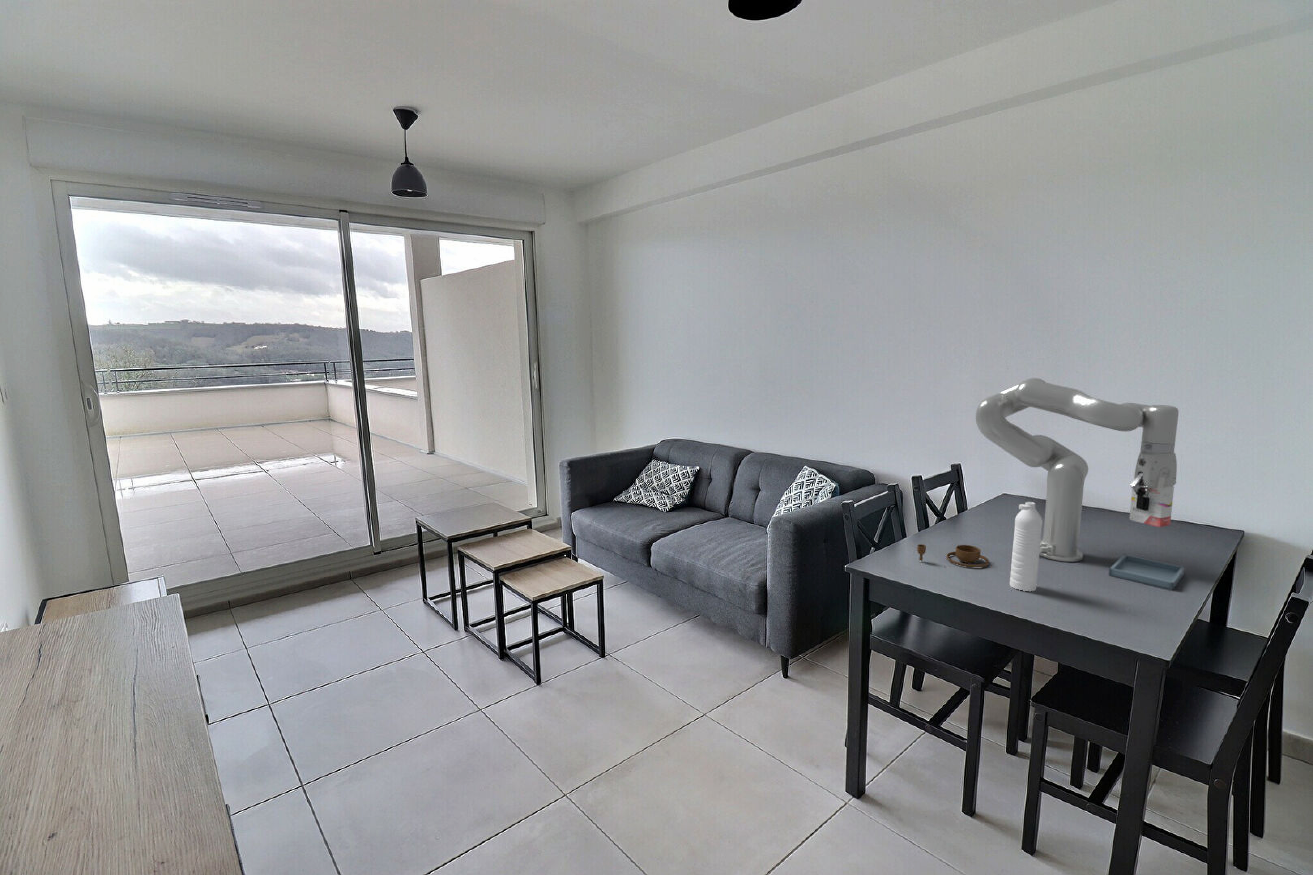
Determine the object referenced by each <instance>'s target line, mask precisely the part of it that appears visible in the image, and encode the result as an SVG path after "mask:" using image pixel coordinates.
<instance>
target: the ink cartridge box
mask: <svg viewBox="0 0 1313 875" xmlns="http://www.w3.org/2000/svg"><path fill="white" fill-rule="evenodd" d="M1164 481H1165V478H1163V477H1159V481H1158V487H1157V488H1151V489H1150V492H1149V495H1148V497H1149V508H1148V511H1145V510H1141V509H1137V508H1136V503H1137V495H1136V492H1135V491H1134V490H1133V488H1132V487H1131V500H1130V511H1129V517H1128V518H1129V520H1130V521H1132V522H1136V523H1141V524H1145V525H1147V526H1149V525H1150V526H1152V527H1156V528H1164V527H1169V526H1171V520H1172V510H1173V502H1174V500H1173V499H1174V491H1175V489H1174V488H1175V485H1174V486H1164ZM1143 486H1145V485H1144V484H1143ZM1145 489H1146V488H1143V491H1145Z"/></svg>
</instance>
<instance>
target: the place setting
mask: <svg viewBox="0 0 1313 875" xmlns="http://www.w3.org/2000/svg"><path fill="white" fill-rule="evenodd" d="M926 548H927V545H925V544H922V543H921V544H917V548H916V549H917V553H918V555H919V557H918V559H919V561H920V560H921V561H922V562H923V560H924V558H923V555H925V554H926V551H927V549H926ZM950 555H956V556H955V557H956V558H957V559H958V560H961V561H963V562H966V563H963V562H961V561H960V562H958V561H957V560H956V561H955V560H953V559H951V557H950V558H949V556H950ZM979 558H981V559H984V560H985V561H986V562H987V563H985V562H984V563H983V564H975V563H976V562H977V561H979V560H980V559H979ZM947 559H948V560H949V561H950V562H952V563H955V564H958V565H961V566H966V567H983V568H986V567H987V566H988V565H989V562H990V560H989V559H988V558H987V557H986V556H984V555H981V549H980V548H979V547H978V546H977V547H976V546H973V545H969V544H958V545H957V546H955V551H951V552H950V551H949V552H948V553H946V560H947ZM948 560H947V561H948ZM949 561H948V562H949ZM950 562H949V563H950ZM952 563H951V564H952ZM967 563H972V564H967ZM961 566H960V567H961ZM985 566H986V567H985Z"/></svg>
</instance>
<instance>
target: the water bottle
mask: <svg viewBox="0 0 1313 875" xmlns="http://www.w3.org/2000/svg"><path fill="white" fill-rule="evenodd" d="M1018 509H1019V510H1020V511H1019V512H1018V513H1017V514H1016V516H1015V519H1014V531H1013V533H1014V534H1013V544H1012V553H1011V566H1010V569H1011V570H1010V577H1009V586H1010V587H1011V588H1012V587H1013V588H1012V589H1014V588H1015V590H1016V589H1019V590H1018V591H1020V590H1023V591H1022V592H1025V591H1029V592H1031V591H1032V592H1035V591H1036V590H1037V583H1038V581H1037V580H1038V572H1039V561H1040V555H1039V553H1040V542H1041V541H1040V540H1041V539H1042V538H1041V537H1042V530H1043V529H1042V528H1043V518H1042V516H1041V515H1040V513H1039V512H1038V510H1037V509H1036V503H1035V502H1032V501H1026V502H1025V504H1024V503H1021V504H1018Z"/></svg>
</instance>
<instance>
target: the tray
mask: <svg viewBox="0 0 1313 875" xmlns="http://www.w3.org/2000/svg"><path fill="white" fill-rule="evenodd" d="M1185 570H1186V567H1185V566H1182V565H1178V564H1171V563H1168V562H1163V561H1158V560H1152V559H1148V558H1144V557H1139V556H1134V555H1129V554H1123V555H1122V556H1121V557H1120V558H1118V559H1117V561H1116V562H1115V563H1114V564H1112V566H1110V568H1109V570H1108V576H1109V577H1113V576H1114V577H1113V578H1117V579H1120V580H1121V579H1122V580H1126V581H1129V580H1130V582H1135V583H1139V584H1142V585H1143V584H1144V585H1145V586H1146V585H1147V586H1149V587H1155V588H1159V589H1163V590H1168V591H1174V589H1175V588H1176V586H1177V585H1178V584H1179V582H1180V581H1181V580H1182V578H1183V576H1184V575H1185V572H1186V571H1185Z"/></svg>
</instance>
